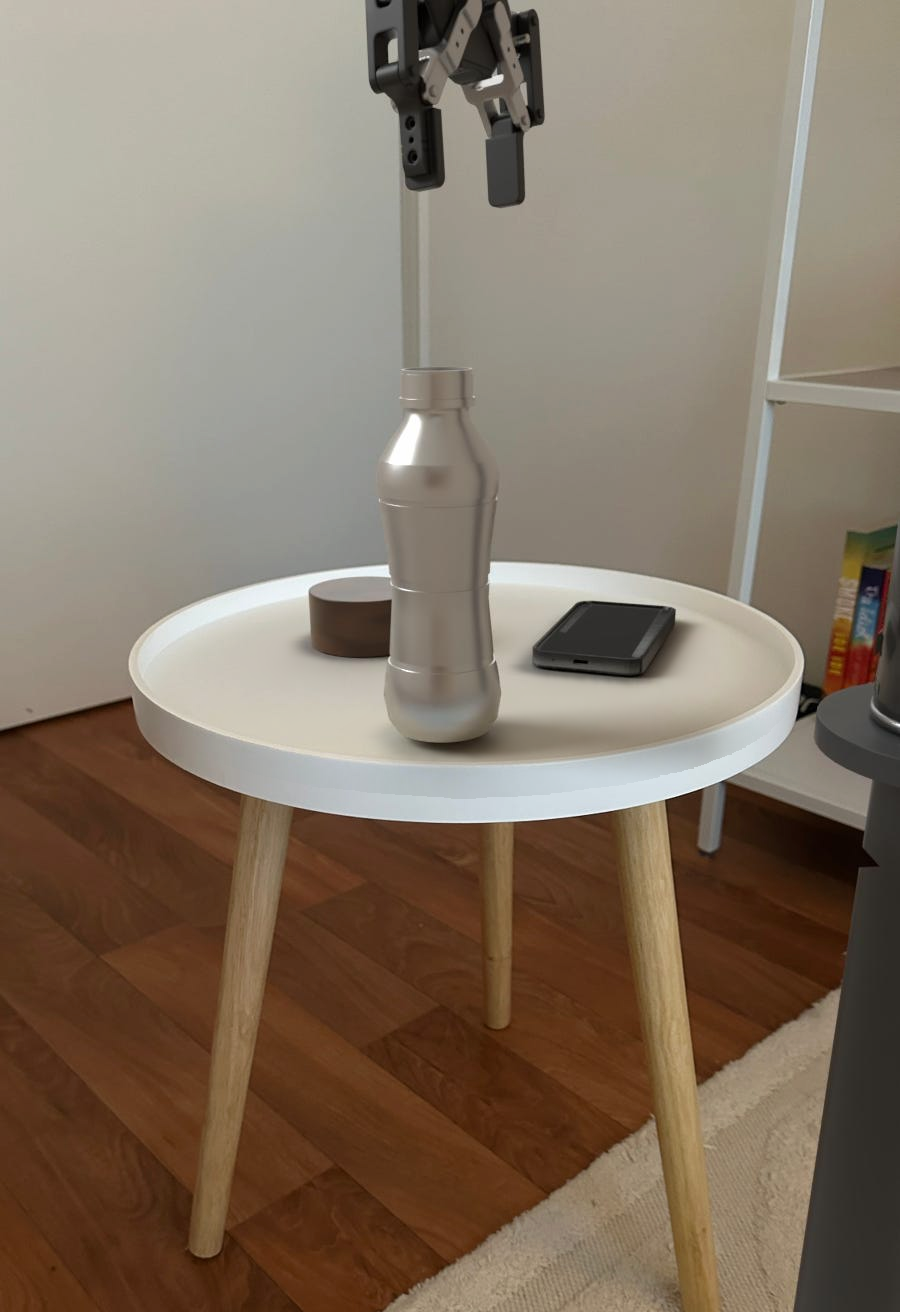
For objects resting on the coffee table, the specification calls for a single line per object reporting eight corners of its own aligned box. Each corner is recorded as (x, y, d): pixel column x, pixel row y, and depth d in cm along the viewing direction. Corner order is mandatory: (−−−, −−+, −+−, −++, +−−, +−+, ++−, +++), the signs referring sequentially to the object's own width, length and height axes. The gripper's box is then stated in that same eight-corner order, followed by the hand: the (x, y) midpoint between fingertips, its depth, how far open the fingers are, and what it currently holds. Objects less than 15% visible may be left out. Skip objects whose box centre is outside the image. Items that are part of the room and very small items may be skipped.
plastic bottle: (507, 754, 64) (511, 371, 56) (385, 758, 64) (371, 373, 56) (495, 715, 70) (496, 364, 62) (383, 719, 70) (371, 366, 62)
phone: (678, 607, 89) (642, 660, 76) (677, 621, 90) (641, 676, 77) (578, 599, 92) (526, 649, 79) (577, 613, 92) (526, 665, 79)
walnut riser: (439, 635, 87) (439, 583, 85) (381, 663, 81) (380, 606, 79) (351, 623, 91) (349, 572, 89) (289, 648, 84) (285, 593, 83)
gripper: (431, -217, 54) (453, 171, 59) (576, -119, 65) (584, 201, 70) (309, -164, 58) (339, 195, 63) (465, -80, 69) (480, 219, 74)
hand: (468, 198), depth 67 cm, fingers open, 8 cm apart
